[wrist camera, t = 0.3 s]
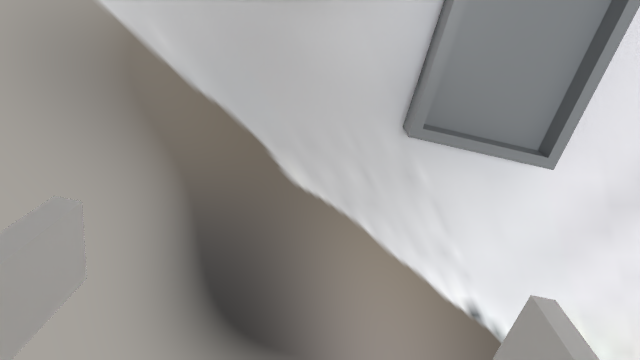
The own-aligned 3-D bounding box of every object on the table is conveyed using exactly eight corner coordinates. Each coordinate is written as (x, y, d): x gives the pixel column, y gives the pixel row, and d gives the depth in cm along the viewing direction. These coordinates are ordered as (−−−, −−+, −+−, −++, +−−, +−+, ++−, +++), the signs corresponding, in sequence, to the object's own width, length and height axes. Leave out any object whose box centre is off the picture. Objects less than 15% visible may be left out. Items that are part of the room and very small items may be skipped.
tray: (488, -136, 28) (505, -152, 26) (660, -89, 29) (694, -99, 26) (403, 127, 37) (408, 136, 34) (537, 158, 38) (553, 169, 35)
